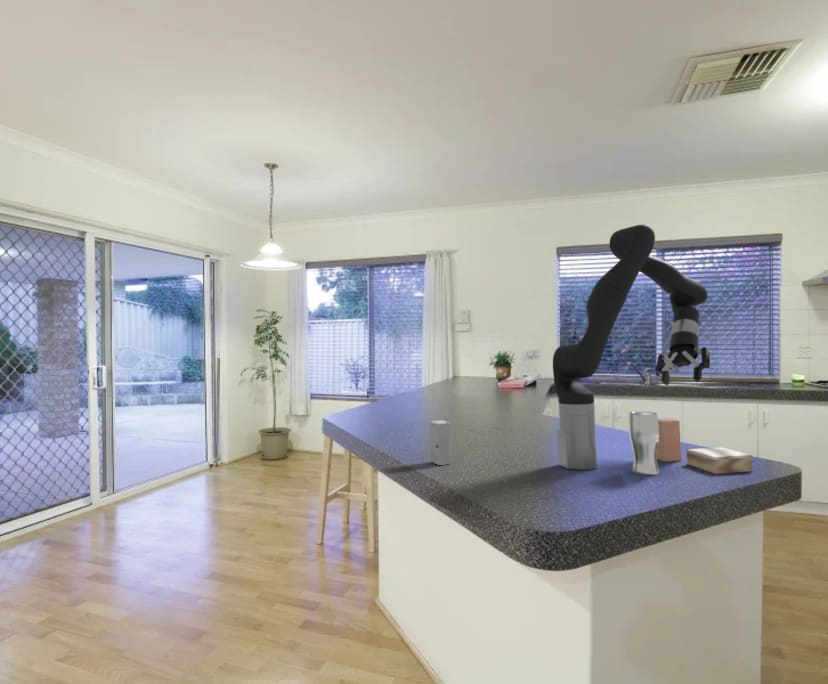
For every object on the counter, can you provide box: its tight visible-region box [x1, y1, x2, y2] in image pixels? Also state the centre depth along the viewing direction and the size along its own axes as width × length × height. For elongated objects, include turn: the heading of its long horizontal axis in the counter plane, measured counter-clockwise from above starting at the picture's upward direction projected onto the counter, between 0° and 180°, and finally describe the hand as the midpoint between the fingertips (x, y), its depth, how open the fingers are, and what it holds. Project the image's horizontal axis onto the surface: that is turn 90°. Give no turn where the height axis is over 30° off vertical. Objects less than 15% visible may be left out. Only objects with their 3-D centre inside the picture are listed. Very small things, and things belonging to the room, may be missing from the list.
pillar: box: [657, 417, 682, 462], centre depth 132 cm, size 5×5×11 cm
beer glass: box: [628, 411, 660, 476], centre depth 119 cm, size 7×7×15 cm
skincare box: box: [429, 419, 452, 464], centre depth 137 cm, size 6×4×12 cm
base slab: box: [686, 446, 753, 474], centre depth 121 cm, size 10×10×4 cm
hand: (680, 382), depth 137 cm, fingers open, 8 cm apart
